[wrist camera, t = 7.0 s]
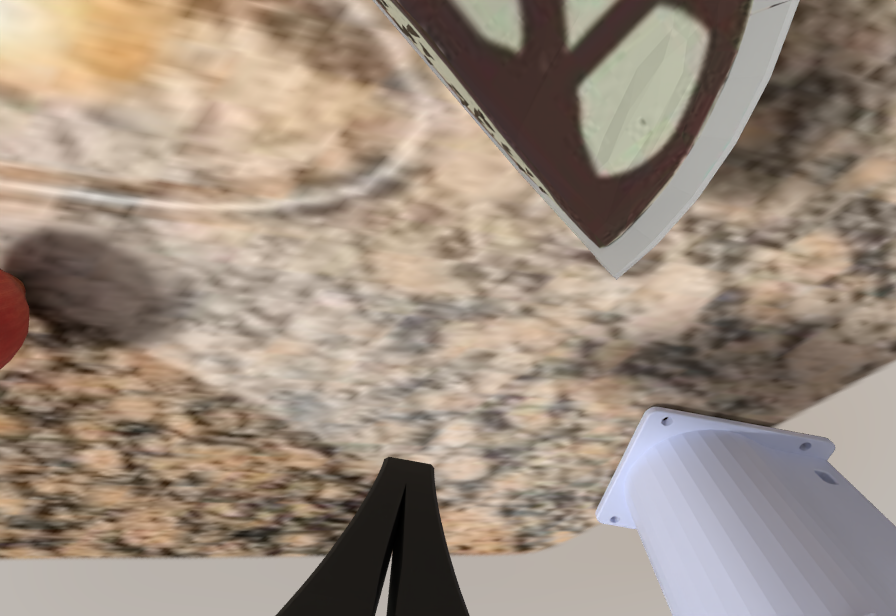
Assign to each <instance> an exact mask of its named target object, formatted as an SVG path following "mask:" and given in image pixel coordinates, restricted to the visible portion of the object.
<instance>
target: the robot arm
mask: <svg viewBox="0 0 896 616" xmlns="http://www.w3.org/2000/svg"><path fill="white" fill-rule="evenodd" d="M666 417H668V418H667V419H666V420H663V419H664V418H666ZM834 450H835V445H834V444H833V443H832V442H831V441H830V440H829V439H828V438H825V437H819V436H814V435H809V434H803V433H798V432H792V431H787V430H782V429H776V428H771V427H765V426H760V425H754V424H749V423H744V422H738V421H733V420H727V419H722V418H716V417H711V416H706V415H700V414H695V413H689V412H684V411H678V410H673V409H668V408H662V407H651V408H649V409H647V410H646V411H645V413H644V415H643V417H642V419H641V421H640V423H639V425H638V427H637V429H636V431H635V433H634V435H633V437H632V439H631V441H630V443H629V445H628V447H627V449H626V451H625V453H624V455H623V457H622V459H621V461H620V463H619V465H618V467H617V469H616V471H615V473H614V475H613V477H612V479H611V481H610V483H609V485H608V487H607V489H606V492H605V494H604V496H603V498H602V500H601V502H600V504H599V506H598V508H597V510H596V513H595V514H596V517H597V520H598V521H599V522H600V523H603V524H609V525H615V526H621V527H626V528H633V529H637V530H638V533H639V535H640V538H641V540H642V543H643V545H644V547H645V550H646V552H647V555H648V557H649V560H650V562H651V564H652V567H653V569H654V572H655V574H656V577H657V579H658V581H659V584H660V586H661V589H662V591H663V594H664V596H665V598H666V601H667V603H668V606H669V608H670V611H671V613H672V616H896V527H895V525H894V524H893V523H891V522H890V521H889V520H888V519H887V518H886V517H885V516H884V515H883V514H882V513H881V512H880V511H879V510H878V509H877V508H876V507H875V506H874V505H873V504H872V503H870V502H869V501H868V500H867V499H866V498H865V497H864V496H863V495H862V494H861V493H860V492H859V491H858V490H857V489H856V488H855V487H854V486H853V485H852V484H851V483H850V482H849V481H847V480H846V479H845V478H844V477H843V476H842V475H841V474H840V473H839V472H838V471H837V470H836V469H835V468H834V467H833V466H832V465H831V464H830V463H829V462H828V461H827V460H828V458H829V457H830V456H831V454H832V453H833V452H834ZM392 550H393V554H392ZM391 554H392V564H391V575H390V585H389V595H388V606H387V616H469V613H468V610H467V607H466V605H465V602H464V599H463V596H462V594H461V591H460V588H459V585H458V582H457V578H456V575H455V572H454V569H453V565H452V562H451V558H450V555H449V551H448V548H447V544H446V540H445V536H444V531H443V527H442V523H441V518H440V513H439V508H438V502H437V496H436V489H435V479H434V467H433V466H432V465H431V464H426V463H420V462H415V461H409V460H404V459H398V458H392V457H388V458H386V459H384V462H383V465H382V467H381V470H380V472H379V474H378V476H377V478H376V480H375V482H374V484H373V486H372V488H371V489H370V491H369V493H368V495H367V497H366V498H365V500H364V501H363V503H362V505H361V506H360V508H359V509H358V511H357V513H356V514H355V516H354V517H353V519H352V520H351V522H350V523H349V525H348V526H347V528H346V529H345V531H344V532H343V533H342V535H341V536H340V538H339V539H338V540H337V542H336V543H335V545H334V546H333V547H332V549H331V550H330V551H329V553H328V554H327V555H326V557H325V558H324V559H323V561H322V562H321V563H320V564H319V566H318V567H317V568H316V569H315V571H314V572H313V573H312V574H311V576H310V577H309V578H308V579H307V581H306V582H305V583H304V584H303V585H302V586H301V588H300V589H299V590H298V591H297V592H296V593H295V595H294V596H293V597H292V598H291V599H290V600H289V601H288V602H287V604H286V605H285V606H284V607H283V608H282V609H281V610H280V611H279V613H278V614H277V615H276V616H375V613H376V610H377V606H378V602H379V599H380V595H381V591H382V587H383V584H384V580H385V576H386V572H387V569H388V565H389V562H390V558H391Z"/></svg>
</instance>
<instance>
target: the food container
mask: <svg viewBox="0 0 896 616" xmlns="http://www.w3.org/2000/svg"><path fill="white" fill-rule="evenodd" d="M373 1H374V3H375V4H376V5H377V6H378V7H379V8H380V10H381V11H382V12H383V13H384V14H385V15H386V17H387V18H388V19H389V20H390V21H391V23H392V24H393V25H394V26H395V27H396V28H397V30H398V31H399V32H400V33H401V34H402V35H403V37H404V38H405V39H406V40H407V41H408V43H409V44H410V45H411V46H412V47H413V48H414V50H415V51H416V52H417V53H418V54H419V55H420V57H421V58H422V59H423V60H424V61H425V63H426V64H427V65H428V66H429V67H430V68H431V70H432V71H433V72H434V73H435V74H436V75H437V77H438V78H439V79H440V80H441V81H442V83H443V84H444V85H445V86H446V87H447V88H448V90H449V91H450V92H451V93H452V94H453V95H454V97H455V98H456V99H457V100H458V101H459V103H460V104H461V105H462V106H463V107H464V108H465V110H466V111H467V112H468V113H469V114H470V115H471V117H472V118H473V119H474V120H475V121H476V123H477V124H478V125H479V126H480V127H481V128H482V130H483V131H484V132H485V133H486V134H487V135H488V137H489V138H490V139H491V140H492V141H493V142H494V144H495V145H496V146H497V147H498V148H499V150H500V151H501V152H502V153H503V154H504V155H505V157H506V158H507V159H508V160H509V161H510V162H511V164H512V165H513V166H514V167H515V168H516V170H517V171H518V172H519V173H520V174H521V175H522V176H523V177H524V178H525V179H526V181H527V182H528V183H529V184H530V185H531V186H532V187H533V188H534V189H535V191H536V192H537V193H538V194H539V195H540V196H541V197H542V198H543V199H544V200H545V202H546V203H547V204H548V205H549V206H550V207H551V208H552V209H553V210H554V211H555V213H556V214H557V215H558V216H559V217H560V218H561V219H562V220H563V221H564V222H565V224H566V225H567V226H568V227H569V228H570V229H571V230H572V231H573V232H574V233H575V235H576V236H577V237H578V238H579V239H580V240H581V241H582V242H583V243H584V245H585V246H586V247H587V248H588V249H589V250H590V251H591V252H592V253H593V254H594V256H595V257H596V259H597V260H598V261H599V262H600V264H601V265H602V266H603V267H604V268H605V269H606V270H607V271H608V272H609V273H610V274H611V275H612V276H613V277H615V278H616V280H617V279H618V278H619V277H620V276H621V275H623V274H624V273H625V272H626V271H627V270H628V269H629V268H631V267H632V266H633V265H634V264H635V263H636V262H637V261H639V260H640V259H641V258H642V257H643V256H644V255H646V254H647V253H648V252H649V251H650V250H651V249H652V248H654V247H655V246H656V245H657V244H658V243H659V242H660V240H661V239H662V238H663V237H664V236H665V235H666V234H667V233H668V232H669V230H670V229H671V228H672V227H673V226H674V225H675V224H676V223H677V222H678V220H679V219H680V218H681V217H682V216H683V215H684V214H685V213H686V211H687V210H688V209H689V208H690V207H691V206H692V205H693V204H694V203H695V201H696V200H697V199H698V198H699V196H700V195H701V193H702V192H703V191H704V189H705V188H706V186H707V185H708V183H709V182H710V180H711V179H712V178H713V176H714V175H715V173H716V172H717V170H718V169H719V167H720V166H721V165H722V163H723V162H724V160H725V159H726V157H727V156H728V154H729V153H730V151H731V150H732V149H733V147H734V146H735V144H736V143H737V141H738V139H739V137H740V135H741V133H742V131H743V129H744V127H745V125H746V123H747V122H748V120H749V118H750V116H751V114H752V112H753V110H754V108H755V106H756V104H757V102H758V100H759V99H760V97H761V95H762V93H763V91H764V89H765V87H766V85H767V83H768V81H769V79H770V77H771V75H772V72H773V70H774V67H775V64H776V62H777V59H778V56H779V54H780V51H781V48H782V46H783V43H784V40H785V38H786V35H787V32H788V30H789V27H790V24H791V22H792V19H793V17H794V14H795V11H796V9H797V6H798V3H799V1H800V0H373Z"/></svg>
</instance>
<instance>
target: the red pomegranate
mask: <svg viewBox="0 0 896 616" xmlns="http://www.w3.org/2000/svg"><path fill="white" fill-rule="evenodd" d="M25 292H26V291H25V287H24V285H23V283H22V282H21V281H20V280H19V279H18V278H16V277H14V276H13V275H11V274H9V273H7V272H4V271H3V270H1V269H0V369H1V368H3V367H4V366H5V365H6V364H7V363H8V362H9V361H10V360H11V359H12V358H13V357H14V355H15V354H16V353H17V351H18V350H19V349H20V347H21V346H22V344H23V342H24V340H25V338H26V336H27V334H28V327H29V306H28V304H27V301H26V298H25Z"/></svg>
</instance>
